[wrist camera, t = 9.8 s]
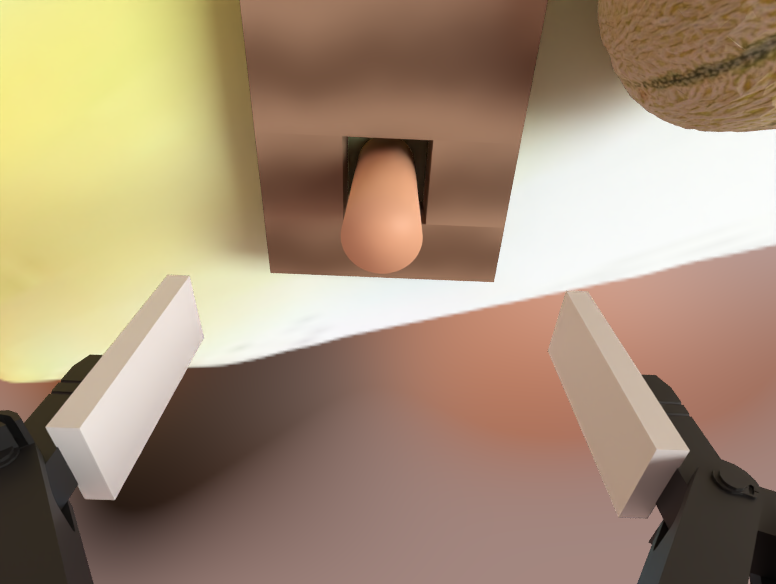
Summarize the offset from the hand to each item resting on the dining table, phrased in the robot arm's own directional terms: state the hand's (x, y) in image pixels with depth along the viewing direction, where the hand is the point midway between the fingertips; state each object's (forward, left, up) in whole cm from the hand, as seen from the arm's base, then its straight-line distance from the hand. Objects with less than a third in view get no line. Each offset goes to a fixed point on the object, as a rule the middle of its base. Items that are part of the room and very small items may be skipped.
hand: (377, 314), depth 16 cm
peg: (0, 0, -19) cm, 19 cm away
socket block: (-2, 0, -19) cm, 19 cm away
